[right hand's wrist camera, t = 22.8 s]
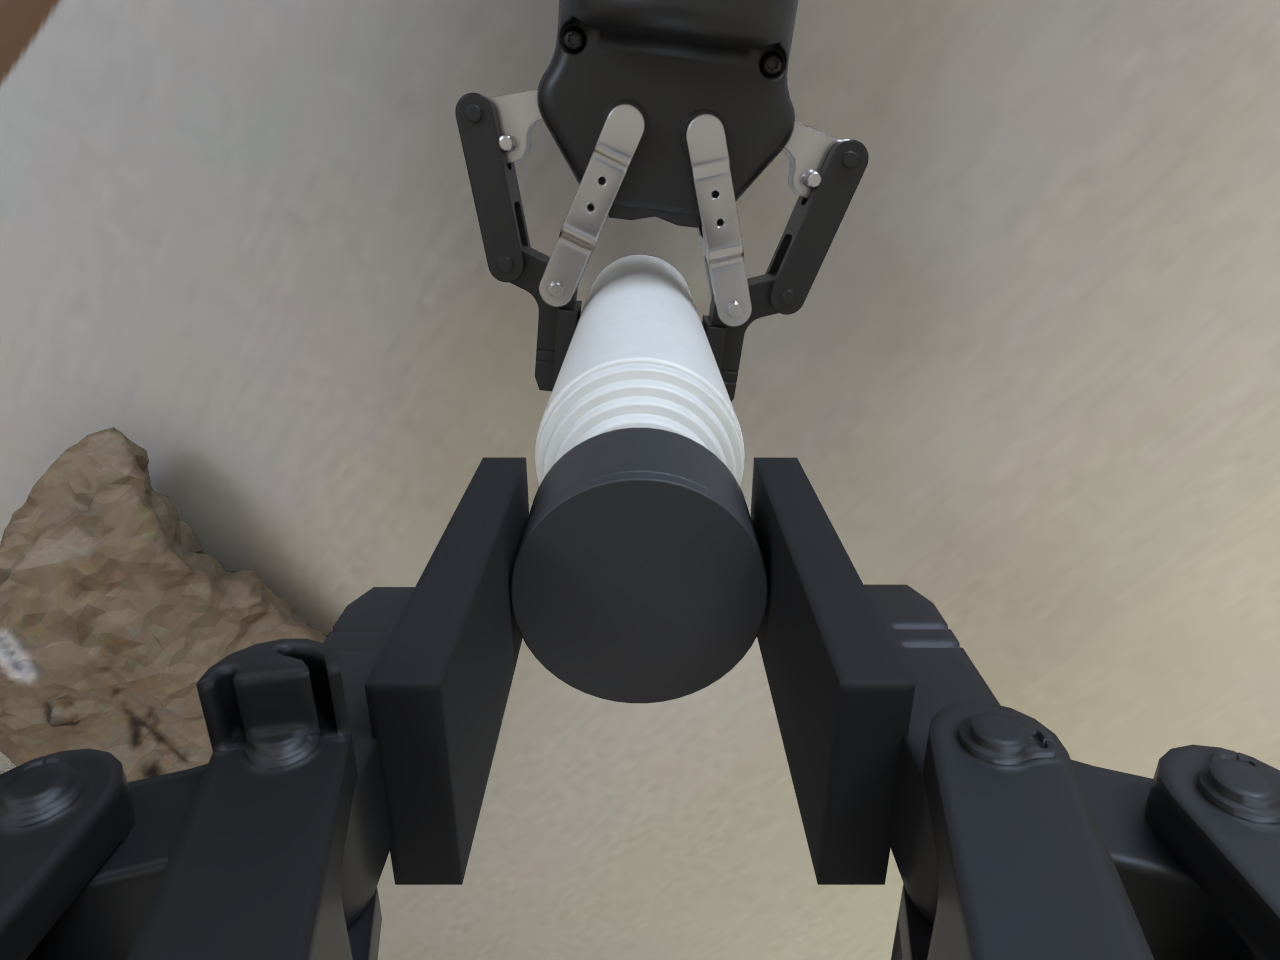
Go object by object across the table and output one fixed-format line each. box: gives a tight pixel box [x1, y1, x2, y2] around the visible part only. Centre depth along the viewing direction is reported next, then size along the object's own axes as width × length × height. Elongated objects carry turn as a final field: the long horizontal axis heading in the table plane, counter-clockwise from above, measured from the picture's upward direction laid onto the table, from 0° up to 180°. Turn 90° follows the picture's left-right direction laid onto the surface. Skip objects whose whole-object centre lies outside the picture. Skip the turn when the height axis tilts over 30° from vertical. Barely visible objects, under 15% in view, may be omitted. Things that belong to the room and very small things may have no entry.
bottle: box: [535, 255, 745, 486], centre depth 24 cm, size 5×5×25 cm
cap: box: [510, 428, 768, 703], centre depth 13 cm, size 4×4×2 cm
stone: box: [0, 427, 327, 782], centre depth 39 cm, size 21×15×6 cm
